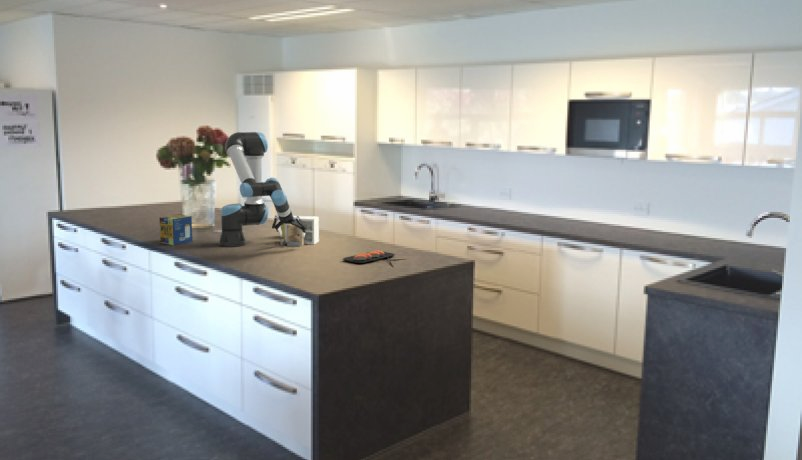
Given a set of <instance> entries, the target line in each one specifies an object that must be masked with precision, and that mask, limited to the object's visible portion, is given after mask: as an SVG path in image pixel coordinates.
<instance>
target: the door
mask: <svg viewBox="0 0 802 460" xmlns="http://www.w3.org/2000/svg"><path fill="white" fill-rule="evenodd" d="M287 241H291V242H301V247H304V245H305V244H304V237H303V235H302V232H301V229H300V228H298V227H296V226H295V225H292V224H288V225H287Z"/></svg>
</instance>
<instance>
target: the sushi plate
mask: <svg viewBox="0 0 802 460" xmlns="http://www.w3.org/2000/svg"><path fill="white" fill-rule="evenodd" d="M395 254H396V253H393V252H387V251H382V250H372V251H370V252H365V253H359V254H356V255H355V254H354V255H351V256H347V257H343V258H342V260H344V261H345V262H350V263H355V264H364V263H369V262H373V261H374V262H375V261H377V262H378V261H380V262H381V261H384V259H386V258H387V261H388V262H389V264H390V266H391V267H392V268H394V265H393V263H392V262H391V261H403V260H404V261H405V260H407V258H397V259H396V258H392V259H390V257H393V256H395Z"/></svg>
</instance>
